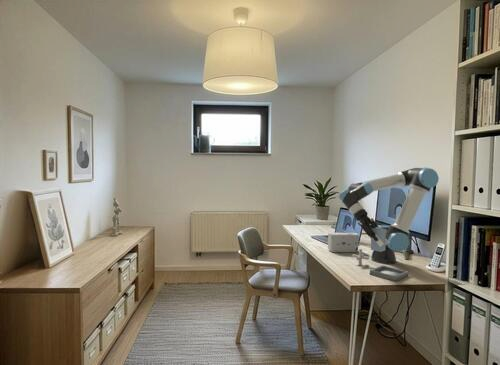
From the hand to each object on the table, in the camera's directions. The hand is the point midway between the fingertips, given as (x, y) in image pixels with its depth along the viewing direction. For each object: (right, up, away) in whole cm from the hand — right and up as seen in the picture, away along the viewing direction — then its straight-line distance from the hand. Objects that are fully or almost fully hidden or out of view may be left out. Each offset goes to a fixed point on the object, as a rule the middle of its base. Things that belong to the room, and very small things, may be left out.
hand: (384, 244), depth 185 cm
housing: (+4, -18, +3) cm, 19 cm away
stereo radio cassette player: (-8, -15, +55) cm, 58 cm away
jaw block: (-2, -4, +3) cm, 5 cm away
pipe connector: (-6, -17, +22) cm, 29 cm away
